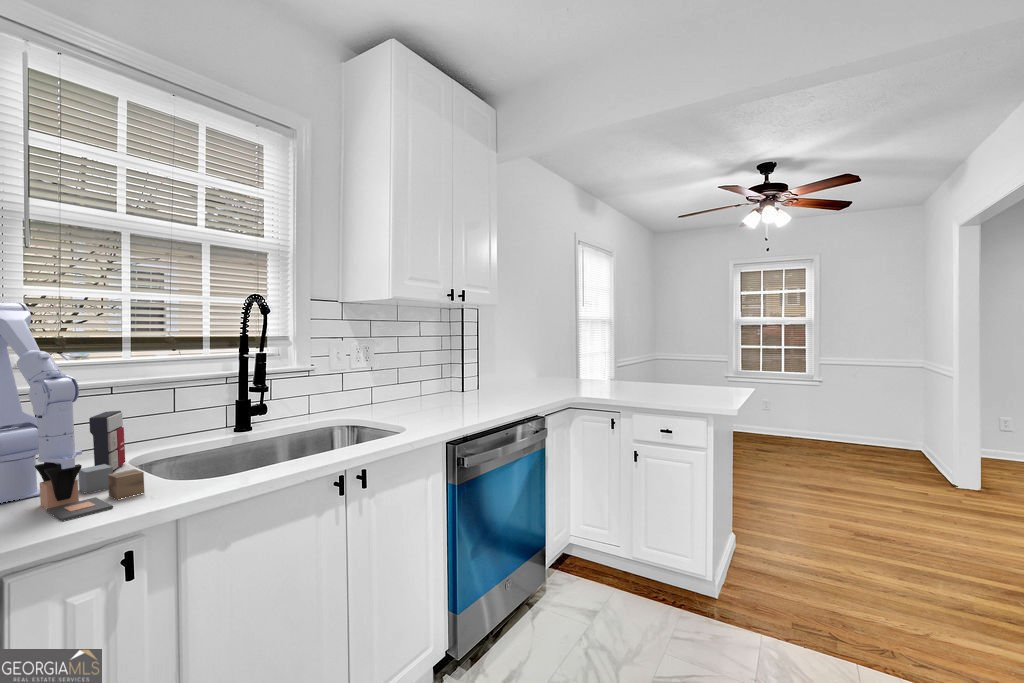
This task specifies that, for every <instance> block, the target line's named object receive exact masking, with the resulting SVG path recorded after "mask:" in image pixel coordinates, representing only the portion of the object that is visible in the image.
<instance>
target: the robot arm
mask: <svg viewBox="0 0 1024 683" xmlns="http://www.w3.org/2000/svg"><path fill="white" fill-rule="evenodd" d="M31 321H32V316H31V311H30V309H29V308H28V306H27V305H26V304H25V303H22V302H16V303H15V302H13V303H12V302H0V503H1V504H4V503H3V502H6V503H9V502H8V501H11V502H14V501H13V500H15V501H20V500H24V499H28V498H34V497H37V496H40V488H38V480H37V479H38V476H37V472H38V473H39V475H40V476H41V478H42V482H44V481H49V480H51V483H52V485H53V490H54V494H55V497H56V499H57V501H61V500H65V499H70V498H71V495H72V491H73V486H74V482H75V479H77V476H78V475H79V474H78V472H79V471H80V469H82V464H79V463H78V464H76V463H75V462H76V459H75V458H76V457H77V456H80V455H82V454H83V450H80V449H77V450H76V442H75V423H74V422H75V421H74V404H73V403H75V402H76V401H77V400H78V399H79V396H80V388H79V384H78V382H77V379H76V378H75V377H74V376H71V375H68V373H64V372H62V370H61V369H60V367H59V365H58V364H57V363H56V361H55V360H54V358H53V356H52V355H51V354H50V353H49V352H47V351H44V350H40V348H39V345H38V344H37V341H36V339H35V337H34V336H33V334H32V331H31V329H30V326H31V323H32V322H31ZM8 346H9V347H10V348H11V349H12V351H14V352H15V354H16V355H17V357H18V359H17V361H16V367H17V368H18V370H19V372H20V373H21V375H22V376H23V378H24V379H25V381H26V383H27V384H28V386H29V391H28V393H27V394H28V399H29V401H30V404H31V406H32V412H33V414H34V415H31V414H29V413H26V412H25V411H23V408H22V403H21V400H20V395H19V391H18V387H17V383H16V380H15V374H14V371H13V366H12V363H11V358H10V355H9V350H8ZM36 455H38V457H37V456H36ZM36 458H37V459H36ZM37 462H39V463H40V464H37ZM19 499H20V500H19Z"/></svg>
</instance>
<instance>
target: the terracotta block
mask: <svg viewBox="0 0 1024 683" xmlns="http://www.w3.org/2000/svg"><path fill="white" fill-rule="evenodd" d="M39 490H40V495H39V496H40V497H39V498H40V506H41V505H42V506H41V507H43V506H44V507H45V508H44V507H43V508H44V509H46V508H47V509H48V508H52V507H56V506H61V505H65V504H69V503H73V502H78V501H80V500H79V479H77V478H76V479H75V482H74V486H73V491H72V495H71V498H70V499H65V500H61V501H57V499H56V497H55V494H54V490H53V485H52V483H51V480H49V481H40V482H39ZM47 509H46V510H47Z"/></svg>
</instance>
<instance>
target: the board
mask: <svg viewBox="0 0 1024 683" xmlns="http://www.w3.org/2000/svg"><path fill="white" fill-rule="evenodd" d="M112 508H113V509H114V505H113V504H111V503H109V502H106V501H104V500H103V499H100V498H98V497H97V496H95V497H91V498H87V499H82V500H79V501H78V502H73V503H69V504H65V505H61V506H56V507H52V508H48V509H46V512H47V513H48V512H49V513H48V514H50V515H51V514H52V515H51V516H53V515H54V516H53V517H55V518H56V517H57V520H59V521H61V520H62V521H61V522H65V521H64V520H66V521H69V520H68V519H70V520H73V519H72V518H74V519H77V518H76V517H78V518H80V517H79V516H81V517H84V516H83V515H85V516H88V515H87V514H89V515H92V514H91V513H93V514H96V513H95V512H97V513H100V512H99V511H101V512H103V510H105V511H108V510H107V509H109V510H112Z"/></svg>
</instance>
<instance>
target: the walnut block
mask: <svg viewBox="0 0 1024 683" xmlns="http://www.w3.org/2000/svg"><path fill="white" fill-rule="evenodd" d="M144 476H145V474H144V471H142V470H138V469H136V468H133V469H129V470H124V471H123V470H122V471H119V472H113V474H108V485H109V489H108V496H110V498H111V497H112V498H111V499H114V498H115V499H114V500H116V499H117V500H116V501H119V500H118V499H121V498H125V497H129V496H133V495H137V494H141V493H144V494H145V477H144ZM141 495H142V494H141ZM137 496H138V495H137ZM133 497H134V496H133ZM129 498H130V497H129ZM125 499H126V498H125ZM121 500H122V499H121Z"/></svg>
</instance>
